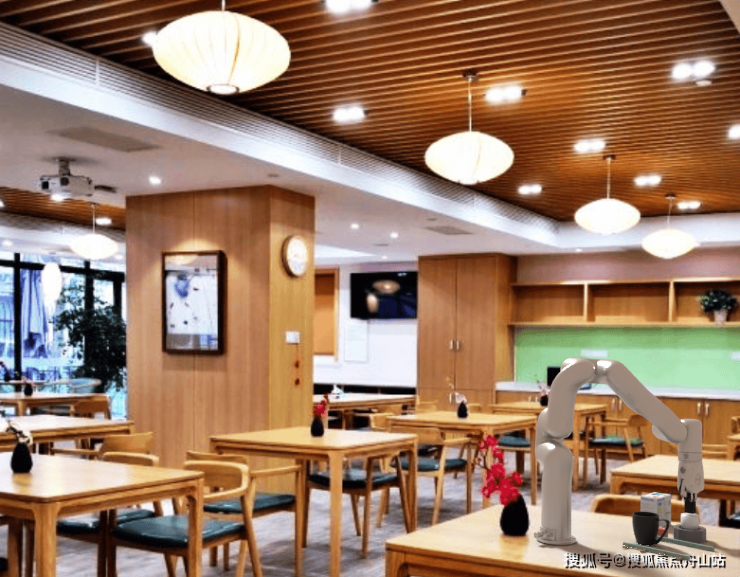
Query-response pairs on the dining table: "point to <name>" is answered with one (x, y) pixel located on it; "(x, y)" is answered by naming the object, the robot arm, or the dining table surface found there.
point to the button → (689, 521)
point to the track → (662, 552)
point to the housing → (690, 534)
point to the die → (660, 532)
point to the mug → (647, 527)
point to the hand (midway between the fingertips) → (690, 512)
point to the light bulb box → (657, 505)
